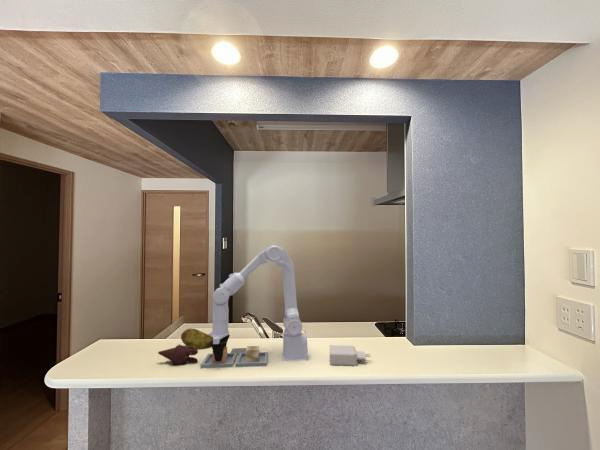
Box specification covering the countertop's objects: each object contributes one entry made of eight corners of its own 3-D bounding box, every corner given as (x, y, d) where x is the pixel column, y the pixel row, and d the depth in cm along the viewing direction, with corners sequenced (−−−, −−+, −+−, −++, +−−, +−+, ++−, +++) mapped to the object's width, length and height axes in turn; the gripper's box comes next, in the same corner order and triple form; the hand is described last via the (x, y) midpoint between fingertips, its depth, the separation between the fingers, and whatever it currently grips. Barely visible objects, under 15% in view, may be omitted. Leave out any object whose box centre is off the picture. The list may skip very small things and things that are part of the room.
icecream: (152, 349, 101) (193, 354, 100) (163, 338, 108) (202, 342, 107) (152, 367, 102) (193, 372, 101) (163, 354, 109) (201, 359, 108)
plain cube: (259, 358, 109) (259, 345, 109) (258, 362, 104) (258, 349, 104) (247, 358, 108) (247, 346, 109) (245, 363, 104) (245, 350, 104)
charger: (372, 367, 101) (329, 366, 102) (368, 357, 110) (329, 356, 111) (372, 353, 101) (329, 352, 103) (368, 345, 110) (329, 344, 112)
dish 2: (268, 355, 112) (268, 351, 112) (266, 367, 101) (266, 362, 101) (239, 356, 111) (239, 352, 111) (235, 368, 100) (235, 363, 100)
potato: (207, 352, 116) (207, 332, 117) (177, 351, 118) (178, 331, 119) (215, 345, 125) (216, 326, 125) (187, 344, 126) (188, 325, 127)
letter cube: (227, 359, 108) (227, 346, 108) (224, 363, 103) (225, 350, 104) (214, 359, 107) (215, 346, 108) (212, 364, 103) (212, 351, 103)
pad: (249, 349, 119) (249, 347, 119) (247, 355, 112) (247, 353, 112) (232, 349, 119) (232, 348, 119) (229, 356, 112) (229, 354, 112)
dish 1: (237, 356, 111) (237, 352, 111) (232, 368, 100) (232, 363, 100) (208, 357, 110) (208, 353, 110) (200, 369, 99) (200, 364, 99)
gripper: (214, 316, 113) (213, 351, 112) (204, 325, 99) (203, 366, 98) (232, 315, 114) (231, 351, 113) (225, 325, 100) (224, 365, 98)
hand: (219, 358), depth 105 cm, fingers closed on letter cube, 4 cm apart
